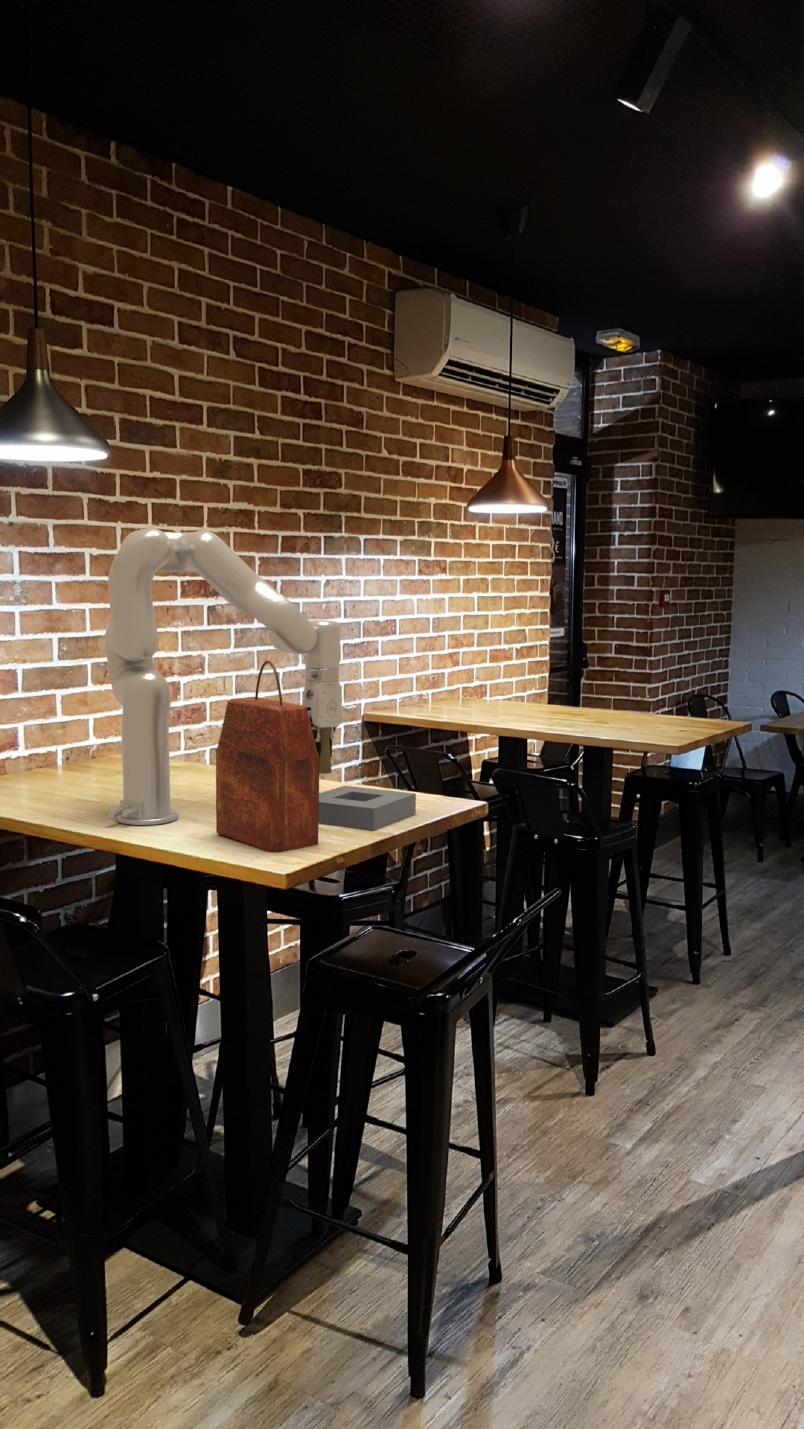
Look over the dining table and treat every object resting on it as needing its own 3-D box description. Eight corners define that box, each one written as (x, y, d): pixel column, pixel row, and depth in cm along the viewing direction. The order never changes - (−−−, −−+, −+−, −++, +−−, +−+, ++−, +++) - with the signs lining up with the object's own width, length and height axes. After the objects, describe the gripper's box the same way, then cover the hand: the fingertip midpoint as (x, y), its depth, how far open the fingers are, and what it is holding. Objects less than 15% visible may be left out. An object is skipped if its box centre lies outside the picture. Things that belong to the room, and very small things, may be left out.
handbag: (273, 855, 193) (275, 665, 188) (215, 834, 207) (215, 657, 203) (318, 846, 200) (321, 662, 195) (259, 827, 214) (260, 655, 210)
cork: (306, 769, 239) (308, 721, 238) (332, 771, 239) (335, 722, 238) (303, 772, 233) (305, 723, 232) (330, 774, 233) (333, 724, 232)
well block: (373, 830, 212) (373, 808, 211) (299, 820, 220) (299, 799, 220) (415, 814, 228) (415, 793, 227) (344, 805, 236) (344, 785, 236)
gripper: (315, 679, 225) (313, 764, 227) (355, 675, 240) (353, 755, 241) (286, 676, 229) (284, 760, 230) (327, 673, 243) (325, 752, 245)
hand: (319, 757), depth 236 cm, fingers closed on cork, 3 cm apart
